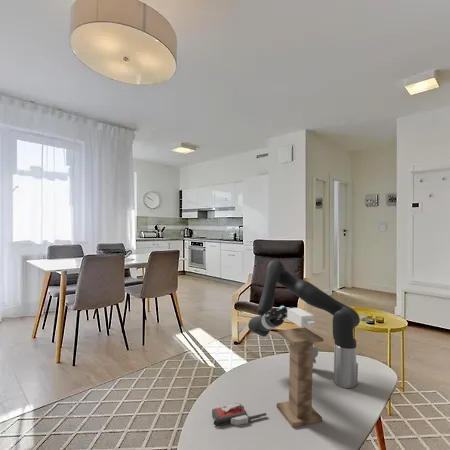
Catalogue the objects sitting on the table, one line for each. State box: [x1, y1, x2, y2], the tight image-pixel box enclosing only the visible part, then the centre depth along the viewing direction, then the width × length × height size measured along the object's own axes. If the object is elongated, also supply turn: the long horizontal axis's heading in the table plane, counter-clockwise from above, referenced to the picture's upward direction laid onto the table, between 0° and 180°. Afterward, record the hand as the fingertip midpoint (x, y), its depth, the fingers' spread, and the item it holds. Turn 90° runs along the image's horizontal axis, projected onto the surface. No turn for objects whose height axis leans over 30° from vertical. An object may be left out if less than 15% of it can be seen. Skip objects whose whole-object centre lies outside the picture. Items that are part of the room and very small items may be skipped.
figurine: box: [312, 344, 319, 369], centre depth 149 cm, size 8×8×12 cm
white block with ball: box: [278, 305, 316, 328], centre depth 116 cm, size 5×23×4 cm, turn 17°
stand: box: [276, 327, 324, 428], centre depth 113 cm, size 12×12×30 cm
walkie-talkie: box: [211, 402, 267, 427], centre depth 111 cm, size 9×4×20 cm
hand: (289, 309), depth 121 cm, fingers closed on white block with ball, 2 cm apart
